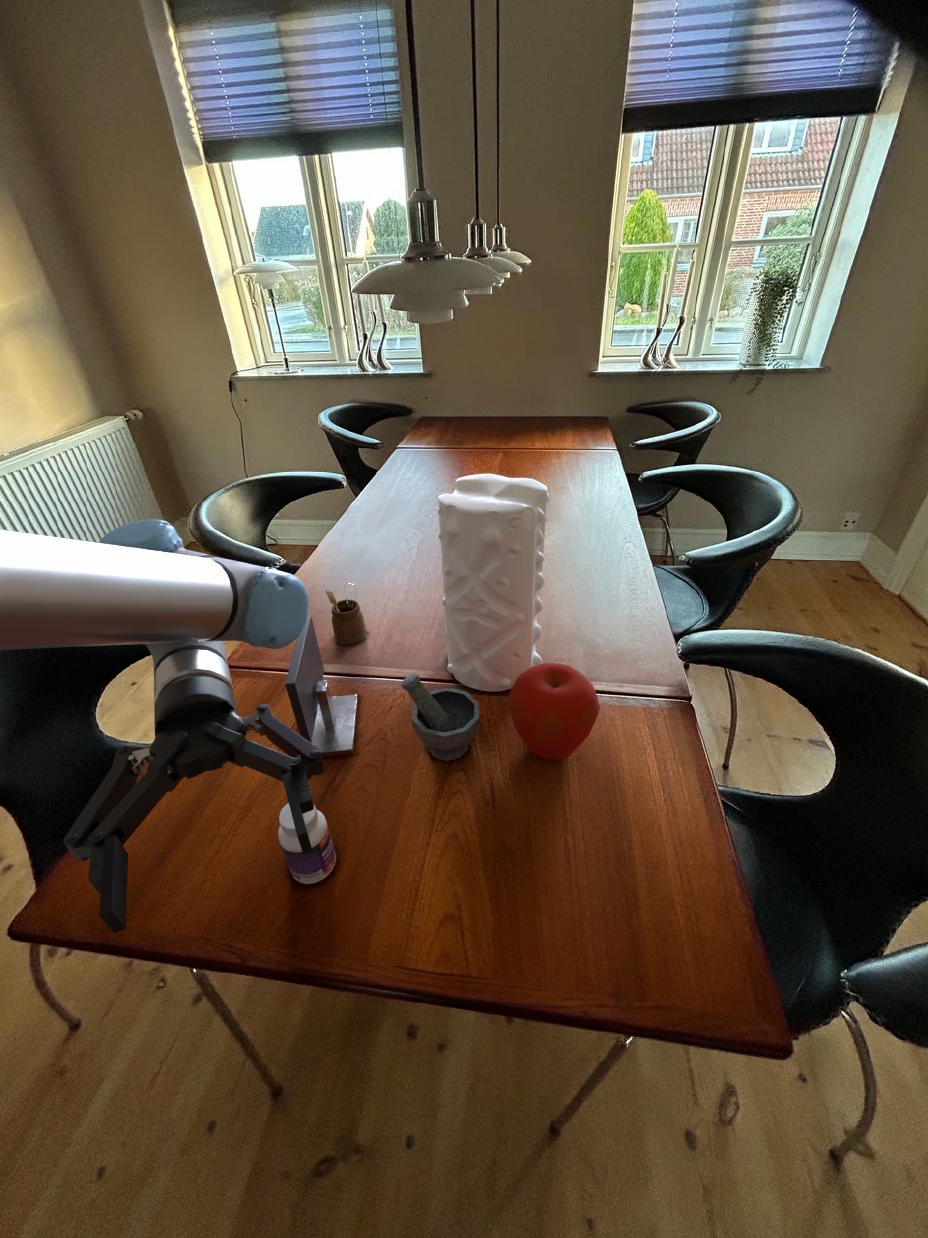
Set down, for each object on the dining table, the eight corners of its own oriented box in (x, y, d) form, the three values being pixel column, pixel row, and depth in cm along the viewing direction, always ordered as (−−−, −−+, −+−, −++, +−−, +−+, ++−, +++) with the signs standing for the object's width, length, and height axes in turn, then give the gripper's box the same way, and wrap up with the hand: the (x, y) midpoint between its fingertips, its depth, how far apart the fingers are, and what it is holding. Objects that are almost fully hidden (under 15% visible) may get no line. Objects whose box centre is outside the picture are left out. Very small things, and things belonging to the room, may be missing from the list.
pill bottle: (338, 878, 62) (323, 827, 57) (291, 891, 61) (271, 841, 55) (334, 838, 66) (320, 787, 61) (290, 850, 65) (272, 799, 60)
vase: (428, 679, 91) (412, 502, 73) (468, 628, 103) (462, 466, 85) (522, 705, 85) (529, 520, 67) (552, 649, 97) (564, 478, 79)
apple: (491, 746, 78) (490, 673, 70) (542, 705, 85) (546, 634, 77) (558, 795, 71) (566, 718, 63) (608, 746, 77) (621, 671, 69)
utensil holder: (372, 632, 103) (364, 579, 97) (351, 650, 99) (341, 595, 92) (349, 624, 106) (339, 572, 99) (327, 641, 101) (315, 587, 95)
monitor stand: (297, 759, 77) (284, 717, 72) (308, 703, 87) (297, 663, 82) (352, 754, 78) (343, 711, 73) (357, 698, 88) (349, 658, 83)
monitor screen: (301, 744, 73) (284, 684, 67) (316, 671, 86) (302, 615, 80) (311, 744, 73) (294, 683, 67) (324, 670, 86) (311, 614, 80)
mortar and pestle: (489, 729, 81) (488, 668, 74) (470, 776, 74) (467, 713, 67) (421, 714, 84) (414, 654, 77) (396, 758, 77) (386, 696, 70)
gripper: (319, 691, 62) (377, 841, 47) (73, 768, 53) (43, 984, 38) (308, 640, 58) (368, 788, 42) (37, 715, 49) (-13, 936, 33)
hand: (214, 881), depth 40 cm, fingers open, 13 cm apart
